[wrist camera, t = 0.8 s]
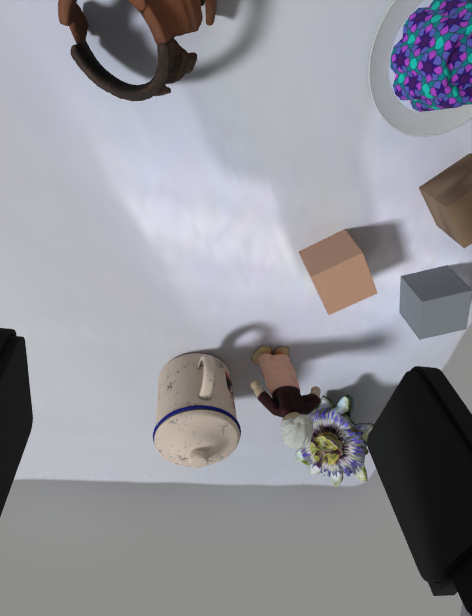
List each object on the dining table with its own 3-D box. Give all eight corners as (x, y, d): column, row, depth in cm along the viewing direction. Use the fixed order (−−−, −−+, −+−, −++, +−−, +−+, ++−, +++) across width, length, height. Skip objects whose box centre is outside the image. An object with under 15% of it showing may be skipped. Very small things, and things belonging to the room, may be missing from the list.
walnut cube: (468, 153, 38) (503, 170, 34) (484, 194, 41) (518, 215, 37) (418, 187, 39) (445, 207, 35) (436, 225, 42) (464, 248, 38)
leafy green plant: (299, 374, 60) (335, 389, 48) (364, 401, 62) (414, 422, 50) (270, 449, 59) (299, 483, 47) (337, 474, 61) (381, 513, 49)
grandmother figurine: (243, 369, 50) (260, 461, 40) (243, 345, 48) (261, 435, 38) (305, 364, 51) (337, 453, 41) (308, 340, 49) (343, 428, 39)
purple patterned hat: (336, 47, 32) (360, 52, 28) (482, -90, 28) (535, -108, 24) (406, 163, 38) (435, 182, 34) (534, 62, 34) (584, 69, 30)
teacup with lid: (222, 406, 54) (232, 491, 44) (151, 401, 52) (145, 488, 42) (246, 335, 47) (263, 415, 38) (166, 325, 45) (163, 407, 36)
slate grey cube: (446, 265, 45) (472, 290, 41) (442, 301, 48) (466, 328, 44) (400, 275, 45) (422, 301, 41) (399, 311, 48) (419, 339, 44)
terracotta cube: (344, 228, 41) (362, 252, 37) (359, 267, 44) (377, 293, 40) (298, 251, 42) (310, 277, 38) (315, 287, 45) (328, 315, 41)
